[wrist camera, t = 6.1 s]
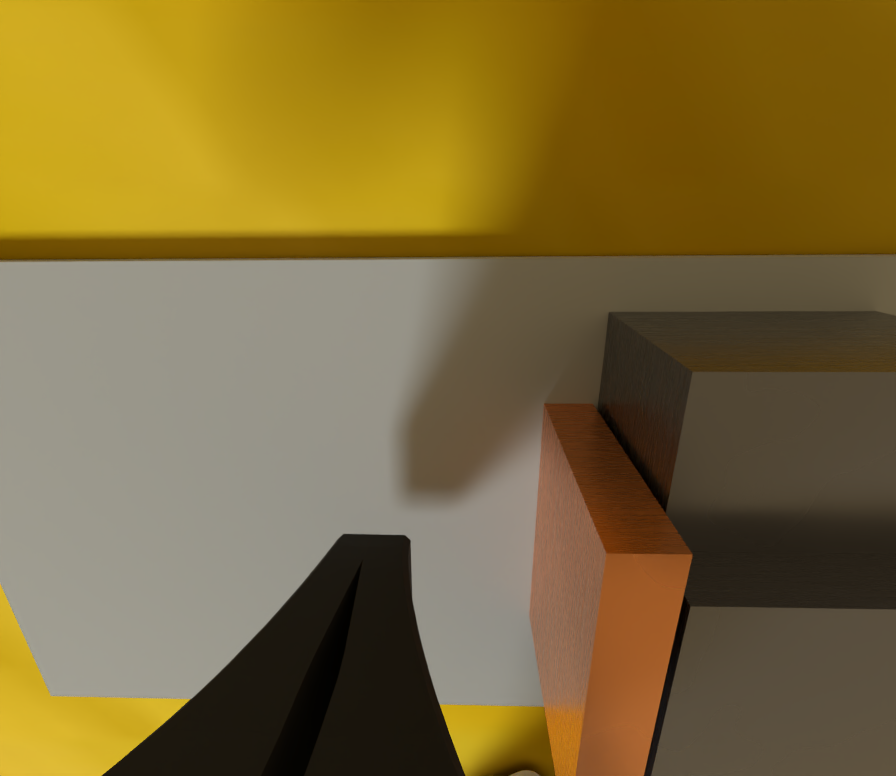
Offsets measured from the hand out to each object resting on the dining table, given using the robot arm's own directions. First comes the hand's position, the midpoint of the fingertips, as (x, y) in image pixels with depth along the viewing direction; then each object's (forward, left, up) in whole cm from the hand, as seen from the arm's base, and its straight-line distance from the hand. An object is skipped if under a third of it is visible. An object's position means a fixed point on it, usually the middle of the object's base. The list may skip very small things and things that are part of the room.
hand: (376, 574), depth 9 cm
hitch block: (-4, -5, -2) cm, 7 cm away
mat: (-1, -1, -2) cm, 2 cm away
